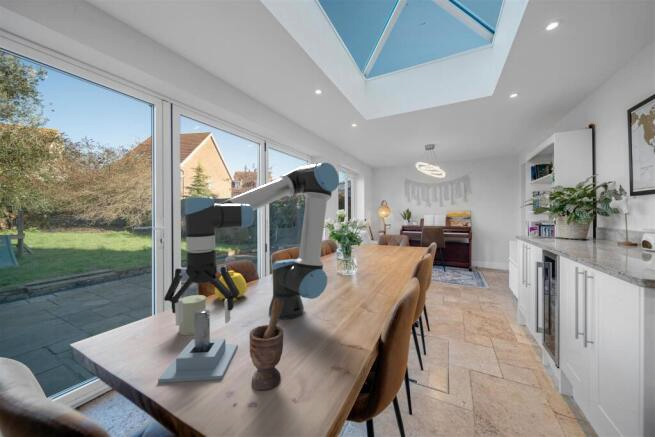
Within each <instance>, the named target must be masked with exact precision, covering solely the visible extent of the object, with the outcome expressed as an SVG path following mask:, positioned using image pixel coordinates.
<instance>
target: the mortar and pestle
mask: <svg viewBox="0 0 655 437" xmlns="http://www.w3.org/2000/svg"><path fill="white" fill-rule="evenodd" d="M283 304H284V300H283V299H280V298H276V299H275V300H274V302H273V306H272V312H271V316H270V318H269V323H268V324H263V325H260V326H257V327H254V328H253V329H252V330H251V331H249V356H250V358H251V359H250V360H251V363H252V365H253V367H255V368H256V369H257V370H256V371H255V372H254V373H253V375H252V377H251V386H252V388H253V389H254V390H255V391H256V390H257V391H258V390H259V391H262V390H263V391H264V390H267V391H268V390H270V389H274V388H275V387H277V386H278V385H279V383H280V381H281V379H282V376H281V373H280V371H279V370H278V368H276V366H278V365H279V363H280V360H281V358H282V354H283V351H284V350H283V349H284V330H283V328H281V327H280V326H278V325H277V324H278V321H279V320H280V319H279V316H280V313H281V311H282V308H283Z"/></svg>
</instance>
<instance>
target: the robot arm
mask: <svg viewBox="0 0 655 437" xmlns="http://www.w3.org/2000/svg"><path fill="white" fill-rule="evenodd" d="M339 176H340V175H339V173H338V170H336V168H335V167H334V165H332V163H329V162H317V163H313V164H308V165H303V166H299V167H297V168H295V169H293V170H291V171H289V172H287V173H285V174H282V175H280V176H279V177H278V179H277V180H274V181H271V182H268V183H267V184H264V185H261V186H259V187H257V188H253V189H251V190H249V191H246V192H244V193H241V194H238V195H237V196H233V197H231V198H228V199H227V200H223V201H221V202H218V203H215V199H214V198H213V197H210V196H189V197H187V198H185V203H184V217H185V219H184V220H185V235H186V236H185V239H186V240H185V242H186V243H185V245H186V247H185V248H186V251H187V253H186V265H187V267H183V266H179V267H177V268H175V270H174V277H173V279H172V281H171V283H170V286H169V287H168V289H167V291H166V294H165V296H164V298H163V300H164V301H165V302H167V301H169V302H170V303H171V308H172V309H171V313H172V314H175V316H174V317H175V326H177V327H179V325H180V324H181V323H182V322H183V304H182V300H180V299H181V297H182V296H183V295H184V294H185V292H186V291H187V290H188V289H189V288H190V286H191V285H192V284H193V283H194V284H200V283H203V284H207V283H210V284H211V285H213V286H214V288H215V287H216V288H217V289H218V290H219V291H220V292H221V293H222V294H223V296H224V297H225V298H226V299H224V300H223V301H224V322H225V324H228V323H229V322H230V320H231V311H232V310H233V309H234V301H233V298H236V299H238V298H239V297H238V295H239V294H240V292H239V290H238V289H237V287H236V285H235V283H234V282H233V280H232V278H231V276H230V274H229V273H228V271H229V269H228V266H227V264H224V265H223V266H217V254H216V250H215V249H216V230H218V229H233V228H241V229H243V228H246V227H250V226H252V225H253V223H254V221H255V210H259V209H261V208H263V207H265V206H267V205H270V204H271V203H273V202H276V201H278V200H280V199H282V198H285V197H292V196H295V195H299V194H302V195H303V196H304V198H305V205H304V214H303V222H302V229H301V238H300V245H299V246H300V247H299V253H298V257H297V258H290V259H283V260H282V259H281V260H280V259H279V260H276V261H274V262H273V264H272V270H271V271H272V298H271V299H270V302H269V307H268V315H269V316H270V317H271V312H272V306H273V302H274V300H275V299H276V298H280V299H283V300H284V304H283V308H282V311H281V313H280V316H279V319H278V320H291V319H295V318H298V317H300V316H301V315H303V314H304V311H305V309H304V308H305V306H304V304H303V303H304V302H303V300H302V298H304V299H310V300H314V299H317V298H319V297H320V296H321V295H322V294H323V293H324V292H325V290H326V288H327V285H328V275H327V273H326V271H324V270H323V269H324V263H323V262H322V260H321V254H322V246H323V238H324V228H325V222H326V221H325V220H326V211H327V204H328V201H329V200H330V199H331V198H332V193H333V192H334V191H336V190H337V188H338V186H339V183H340V178H339ZM217 272H218V273H219V274H220V275H221V276H222V277H223V279H224V281H225V283H226V284H227V286H228V288H229V289H228V288H227V287H226V286H225V285H224V284H223V283H222V282H221V281H220V280H219V279H220V277H218V276H217ZM185 274H186V275H187V276H188V278H187V279H186V281H185V282H184V284H182V285H181V287H180V288H179V290H178V291H177V292H176V290H177V289H178V287H179V285H180V282H181V280H182V278H183V276H184V275H185Z"/></svg>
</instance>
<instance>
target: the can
mask: <svg viewBox="0 0 655 437" xmlns="http://www.w3.org/2000/svg"><path fill="white" fill-rule="evenodd" d="M179 300H182V304H183V322H182V323H181V324H180V325H179V326H178V333H179V335H182V336H191V335H194V313H195V312H196V311H198V310H203V309H207V306H206V304H207V301H206V300H207V297H206V296H205V295H202V294H193V295H187V296H184V297H182V298H181V297H180V299H179Z"/></svg>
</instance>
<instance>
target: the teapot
mask: <svg viewBox="0 0 655 437" xmlns="http://www.w3.org/2000/svg"><path fill="white" fill-rule="evenodd" d="M228 273H229V274H230V276H231V278H232V280H233V282H234V283H235V285H236V287H237V289H238V290H239V292H240V294H239V295H238V297H237V298H233V302H236V301H237V300H238V298H239V297H240V298H241V297H244V295H245V293H246V292H247V291H248V284H247V282H246V279H245V278H244V277H243V276H244V275H243V274H241V273H239V272H235V270H228ZM219 280H220V281H221V282H222V283H223V284H224V285H225V286H226V287H227V288H228V286H227V284H226V283H225V281H224V279H223V277H222V275H221V276H220V277H219ZM228 289H229V288H228ZM214 294H215V295H216V296H217V297H218V298H219V299H218V301H224V300H226V298H225V297H224V296H223V294H222V293H221V292H220V291H219V290H218V289H217V288H216V287H215V286H214ZM223 299H224V300H223Z"/></svg>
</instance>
